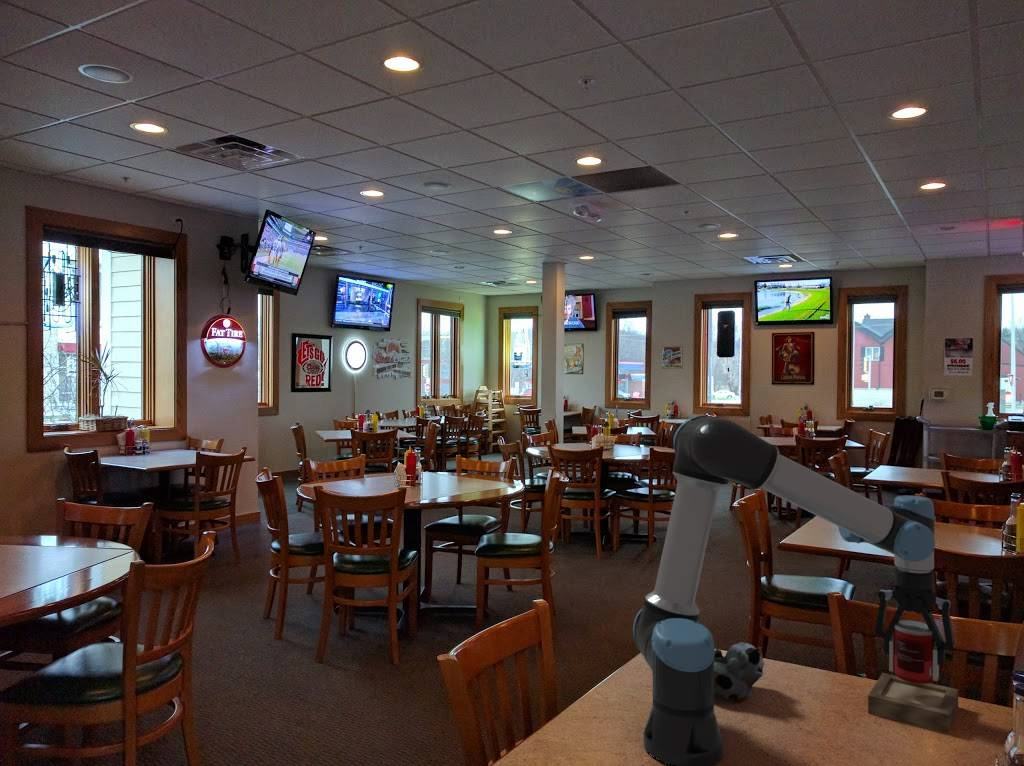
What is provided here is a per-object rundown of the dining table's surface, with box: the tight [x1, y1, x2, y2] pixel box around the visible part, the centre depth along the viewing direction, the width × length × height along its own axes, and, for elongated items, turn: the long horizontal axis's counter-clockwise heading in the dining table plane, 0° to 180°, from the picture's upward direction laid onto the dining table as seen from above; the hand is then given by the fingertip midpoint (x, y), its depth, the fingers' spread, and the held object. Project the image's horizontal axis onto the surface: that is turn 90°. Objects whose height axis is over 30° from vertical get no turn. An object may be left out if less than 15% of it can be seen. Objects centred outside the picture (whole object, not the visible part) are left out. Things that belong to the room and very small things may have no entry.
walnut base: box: [867, 672, 959, 734], centre depth 159 cm, size 15×15×4 cm
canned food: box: [893, 619, 935, 684], centre depth 159 cm, size 8×8×11 cm
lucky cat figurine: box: [714, 642, 765, 704], centre depth 168 cm, size 15×12×14 cm
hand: (913, 673), depth 159 cm, fingers closed on canned food, 8 cm apart
